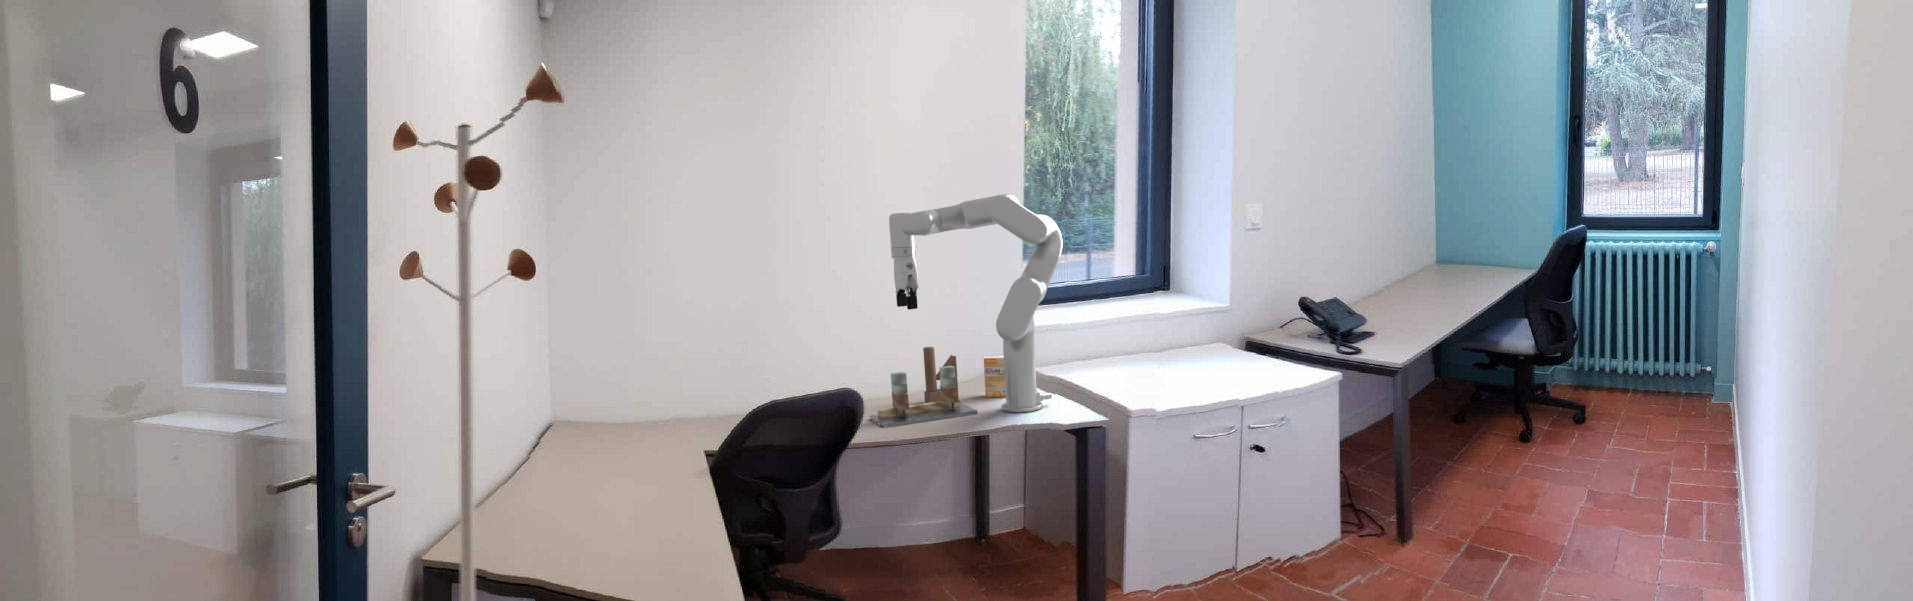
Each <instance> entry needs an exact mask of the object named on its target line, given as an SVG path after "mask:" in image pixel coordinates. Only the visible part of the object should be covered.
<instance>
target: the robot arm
mask: <svg viewBox="0 0 1913 601" xmlns="http://www.w3.org/2000/svg"><path fill="white" fill-rule="evenodd" d="M888 224H889V240H890V252H891V254H890V255H891V259H893V279H894V286H895V296H896V306H897V307H898V308H900V307H906V308H907V310H916V309H918V307H919V306H918V292H917V291H918V289H919V276H918V267H917V262H916V257H917V254H916V238H915V236H920V237H921V236H922V237H924V236H929V235H934V234H938V233H943V232H949V231H955V230H961V229H966V230H970V229H976V228H982V227H988V226H992V225H998V226H1000V227H1002V228H1003V229H1004V230H1007V232H1009V233H1011V234H1012V235H1014V236H1015V237H1016V238H1019V240H1022V241H1023V242H1024V243H1027V244H1030V245H1034V246H1033V249H1032V251H1031V254H1030V256H1029V257H1028V260H1027V263H1026V266H1025V268H1024V270H1023V271H1022V274H1021V276H1019V277H1018V278H1017V279H1016V280H1015V281H1013V283H1012V285H1011V287H1010V288H1009V291H1008V293H1007V295H1006V297H1005V300H1004V302H1003V304H1002V307H1001V309H1000V311H999V314H998V316H997V318H996V321H995V322H996V323H995V328H996V333H997V335H998V336H999V337H1000V338H1001V339H1002V354H1003V355H1002V356H1004V374H1005V391H1006V397H1005V402H1004V403H1002V404H1001V405H1000V406H1001V410H1002V411H1004V412H1006V413H1007V412H1008V413H1028V412H1034V411H1039V410H1041V409H1042V408H1043V403H1042V401H1044V400H1045V401H1046V400H1051V399H1052V397H1053V396H1052V393H1051V392H1047V393H1046V392H1045V393H1044V392H1038V390H1037V379H1036V378H1037V374H1036V359H1035V358H1036V354H1035V353H1036V352H1035V318H1034V315H1035V313H1036V311H1037V309H1038V307H1039V304H1040V303H1041V302H1042V301H1043V300H1044V298H1045V296H1046V294H1047V290H1048V288H1049V285H1050V282H1051V280H1052V278H1053V277H1054V274H1055V271H1056V268H1057V266H1058V263H1059V261H1060V258H1061V256H1062V251H1063V237H1062V233H1061V230H1060V228H1059V227H1058V225H1057V223H1056V222H1055V221H1054V220H1053V219H1052V218H1051V217H1050V216H1048V215H1046V214H1041V213H1040V214H1039V213H1038V214H1036V213H1034V212H1033V211H1031V210H1029V209H1028V208H1027V207H1025V206H1023V205H1021V202H1020V201H1019V198H1017V197H1016V196H1015V195H1013V194H1010V193H1003V194H1002V193H1001V194H997V195H992V196H987V197H983V198H975V199H971V200H966V201H963V202H961V203H958V204H954V205H950V206H945V207H939V208H933V209H926V210H921V211H917V212H896V213H895V212H894V213H891V214H890V215H889V217H888Z"/></svg>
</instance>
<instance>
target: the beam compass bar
mask: <svg viewBox="0 0 1913 601" xmlns="http://www.w3.org/2000/svg"><path fill="white" fill-rule="evenodd" d="M939 371H940V380H939V381H940V385H939V386H940V387H939V389H940V390H941V400H942V401H937V402H930V403H926V402H924V403H918V404H911V405H910V404H909V409H907V410H905V414H911V413H918V412H924V411H931V410H938V409H945V408H952V409H954V407H959V406H960V403H961V400H960V398H957V387H955V386H956V376H955V367H954V366H945V367H943V366H939ZM877 415H878V417H880V418H884V417H890V416H897V415H903V410H900V411H899V410H898V409H896V408H894V407H890V408H888V407H887V408H882V409H877Z"/></svg>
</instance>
